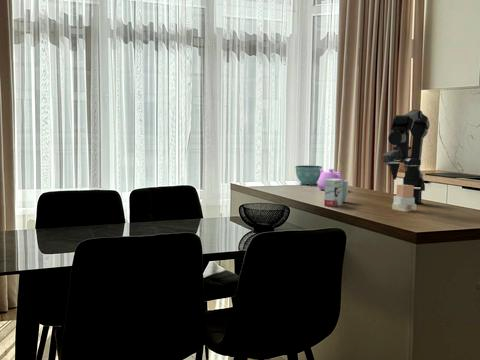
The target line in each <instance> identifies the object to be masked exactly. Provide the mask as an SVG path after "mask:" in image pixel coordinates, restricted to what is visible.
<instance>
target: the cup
mask: <svg viewBox="0 0 480 360" xmlns="http://www.w3.org/2000/svg"><path fill="white" fill-rule="evenodd" d="M348 189H349V182H348V180H345V179H343V187H342V203H344V202H346V200H347V198H348V192H349V191H348Z"/></svg>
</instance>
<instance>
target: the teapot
mask: <svg viewBox="0 0 480 360" xmlns="http://www.w3.org/2000/svg"><path fill="white" fill-rule="evenodd" d="M320 172H321V174H320V177H319V180H318V181H317V187H318V188H319V190H322V189H323V190H322V191H325V179H343V180H344V178H343V176H342V174H341V172H339V171H335V169H334V168H329V169H328V171H324V170H323V168H322V169H320Z"/></svg>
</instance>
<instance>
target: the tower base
mask: <svg viewBox="0 0 480 360" xmlns="http://www.w3.org/2000/svg"><path fill="white" fill-rule="evenodd" d="M391 207H392V208H391V210H394V211H398V212H399V211H400V212H413V211H414V212H415V211H417V204H414V205H399V204H396V203H393V202H392V205H391Z"/></svg>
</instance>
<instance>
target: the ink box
mask: <svg viewBox="0 0 480 360" xmlns="http://www.w3.org/2000/svg"><path fill="white" fill-rule="evenodd" d="M343 180H344V178H343V179H325V190H324V204H323V205H324V206H325V207H331V206H332V207H333V208H335V207H338V206H342V205H343V202H342V187H343ZM334 206H335V207H334Z"/></svg>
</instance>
